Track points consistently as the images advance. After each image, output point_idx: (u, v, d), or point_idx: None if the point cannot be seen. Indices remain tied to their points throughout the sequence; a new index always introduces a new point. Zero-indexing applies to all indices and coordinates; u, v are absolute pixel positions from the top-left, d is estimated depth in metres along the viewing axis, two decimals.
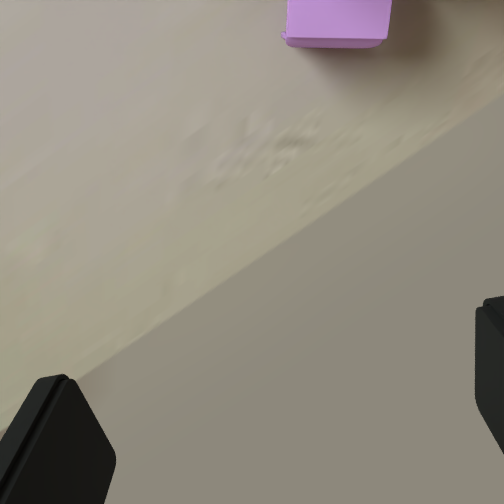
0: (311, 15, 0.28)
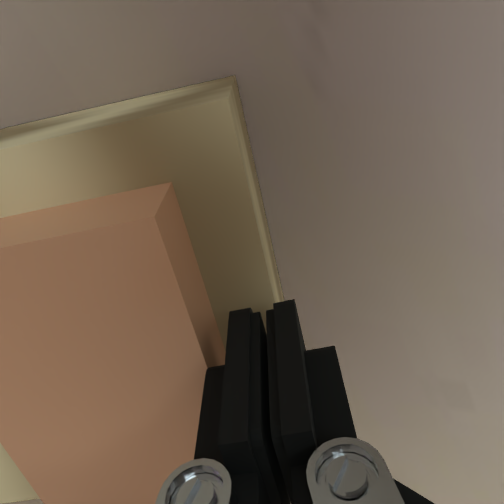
0: None
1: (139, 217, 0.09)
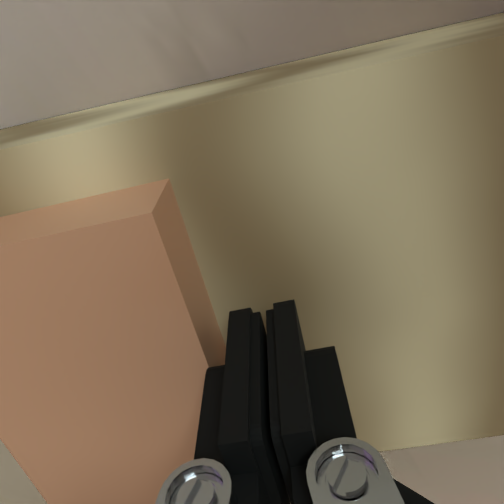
0: None
1: (137, 213, 0.09)
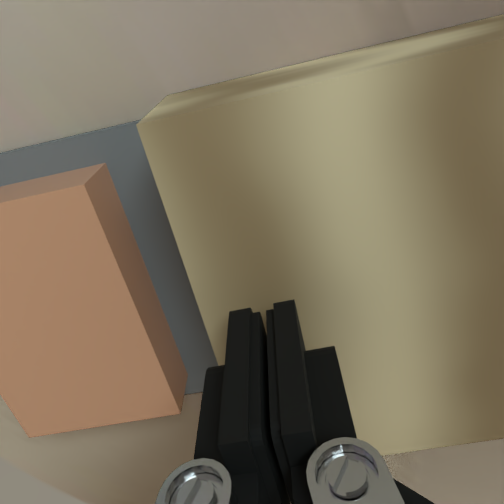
0: None
1: None
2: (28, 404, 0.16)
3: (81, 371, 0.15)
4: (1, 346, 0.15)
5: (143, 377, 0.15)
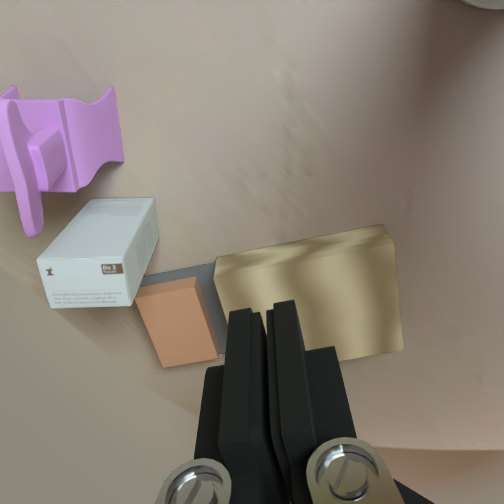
0: None
1: (141, 287, 0.45)
2: (165, 355, 0.46)
3: (185, 343, 0.45)
4: (160, 334, 0.45)
5: (206, 345, 0.46)
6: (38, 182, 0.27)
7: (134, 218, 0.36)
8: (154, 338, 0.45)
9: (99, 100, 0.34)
